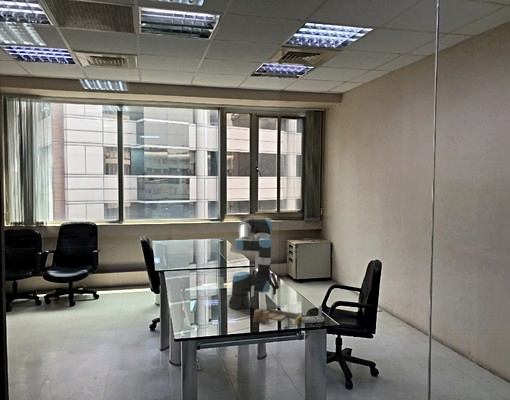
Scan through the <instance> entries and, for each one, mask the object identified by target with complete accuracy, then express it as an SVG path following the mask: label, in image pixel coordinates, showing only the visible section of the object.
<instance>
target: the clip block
mask: <svg viewBox="0 0 510 400" xmlns="http://www.w3.org/2000/svg"><path fill="white" fill-rule="evenodd" d="M253 321H257V322H262V323H261V324H263V323H265V324H266V323H268V322H269V321H270V319H269V310H265V309H260V308H257V309H254V311H253ZM257 322H256V323H257Z"/></svg>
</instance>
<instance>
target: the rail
mask: <svg viewBox="0 0 510 400" xmlns="http://www.w3.org/2000/svg"><path fill="white" fill-rule="evenodd" d="M268 311H269V312H271V313H276V314H282V315H286V317H285V318H290V319H294V325H299V324H300V322H301V317H303V314H302V313H298V312H297V313H296V312H291V311H284V310H279V309H273V308H269V309H268Z"/></svg>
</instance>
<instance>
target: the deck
mask: <svg viewBox="0 0 510 400" xmlns="http://www.w3.org/2000/svg"><path fill="white" fill-rule="evenodd" d="M285 318H287V317H286V315H282V314H276V313H271V312H269V320H273V321H277V322H282V321H283V320H284V319H285Z"/></svg>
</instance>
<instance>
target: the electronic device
mask: <svg viewBox="0 0 510 400" xmlns="http://www.w3.org/2000/svg"><path fill="white" fill-rule="evenodd" d="M322 310H323V307H322V305H318V315H317V316H316V315H314V316H310V315H309V316H302V317H301V321H300V322H301V323H305V324H313V323H315V324H316V322H317V323H324V322H325V317H324V316H323V314H322V313H323V311H322ZM323 321H324V322H323Z"/></svg>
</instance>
